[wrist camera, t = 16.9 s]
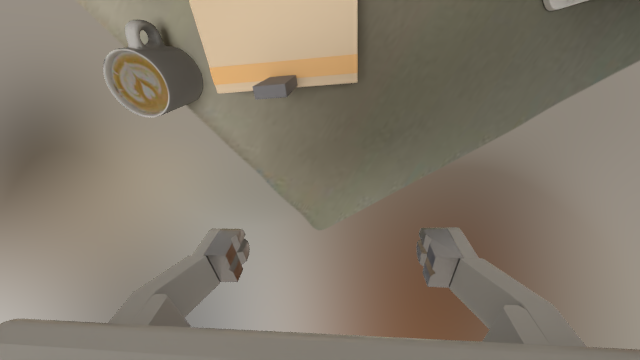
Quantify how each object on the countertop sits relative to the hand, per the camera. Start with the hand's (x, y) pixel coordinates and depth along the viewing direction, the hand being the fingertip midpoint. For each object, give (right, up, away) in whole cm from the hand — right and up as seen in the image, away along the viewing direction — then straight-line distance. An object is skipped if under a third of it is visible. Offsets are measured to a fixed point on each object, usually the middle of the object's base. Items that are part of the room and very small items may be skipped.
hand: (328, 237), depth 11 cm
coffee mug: (-27, +24, +32) cm, 48 cm away
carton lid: (-6, +25, +20) cm, 33 cm away
